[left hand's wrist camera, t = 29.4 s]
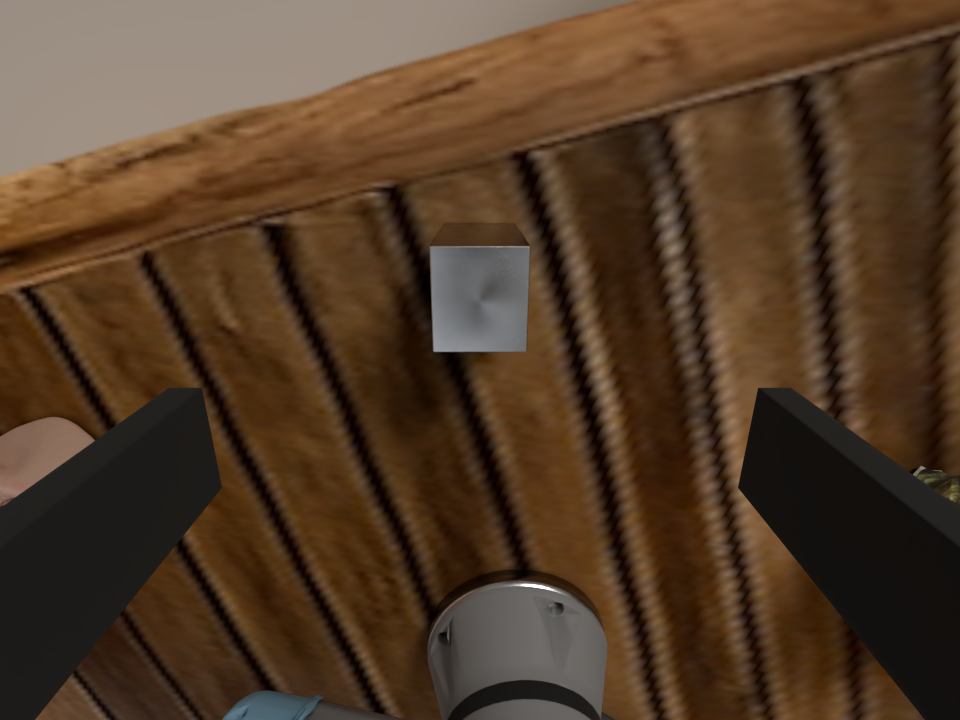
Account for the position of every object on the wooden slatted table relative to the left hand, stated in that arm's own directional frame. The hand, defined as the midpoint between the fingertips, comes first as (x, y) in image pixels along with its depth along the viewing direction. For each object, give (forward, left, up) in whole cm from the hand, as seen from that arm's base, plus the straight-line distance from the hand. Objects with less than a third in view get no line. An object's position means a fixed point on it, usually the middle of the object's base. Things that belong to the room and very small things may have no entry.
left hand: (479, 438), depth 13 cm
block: (0, 0, -24) cm, 24 cm away
